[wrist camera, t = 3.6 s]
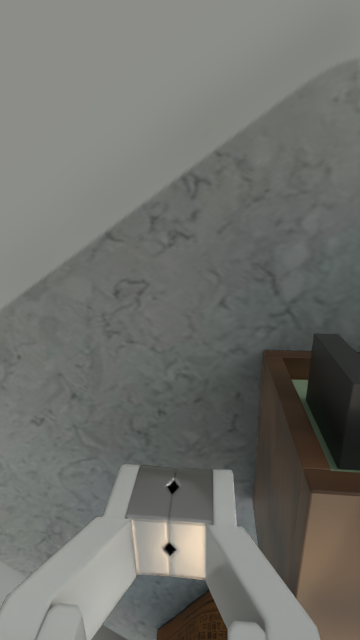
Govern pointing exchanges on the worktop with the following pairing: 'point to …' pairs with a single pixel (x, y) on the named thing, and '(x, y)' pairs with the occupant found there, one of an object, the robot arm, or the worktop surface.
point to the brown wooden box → (305, 504)
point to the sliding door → (334, 400)
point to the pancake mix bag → (196, 622)
